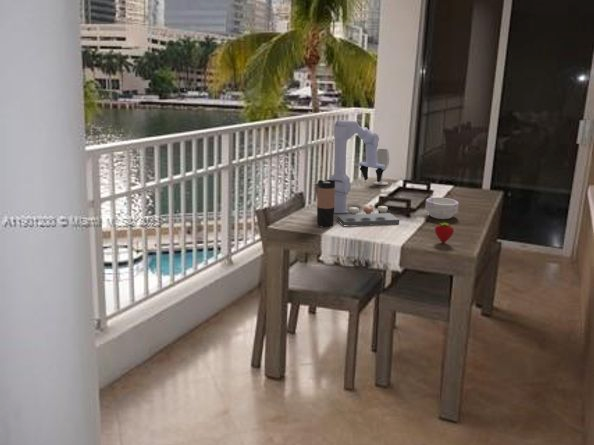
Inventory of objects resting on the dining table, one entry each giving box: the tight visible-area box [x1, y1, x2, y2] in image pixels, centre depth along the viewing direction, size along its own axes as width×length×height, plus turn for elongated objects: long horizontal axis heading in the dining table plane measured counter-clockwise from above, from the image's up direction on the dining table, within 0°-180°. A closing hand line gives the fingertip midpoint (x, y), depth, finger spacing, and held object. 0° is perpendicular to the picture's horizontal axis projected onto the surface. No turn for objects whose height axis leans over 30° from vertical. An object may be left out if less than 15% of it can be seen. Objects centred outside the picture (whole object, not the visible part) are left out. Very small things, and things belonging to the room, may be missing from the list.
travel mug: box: [316, 179, 335, 228], centre depth 258 cm, size 8×8×20 cm
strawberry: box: [434, 220, 454, 244], centre depth 237 cm, size 6×8×10 cm
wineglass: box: [373, 148, 390, 186], centre depth 347 cm, size 9×9×21 cm
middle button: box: [362, 205, 374, 214], centre depth 266 cm, size 4×4×3 cm
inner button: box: [348, 206, 359, 215], centre depth 265 cm, size 4×4×3 cm
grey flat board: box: [336, 212, 400, 226], centre depth 267 cm, size 26×12×2 cm, turn 103°
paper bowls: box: [424, 196, 460, 220], centre depth 278 cm, size 15×15×8 cm
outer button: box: [377, 205, 388, 213], centre depth 268 cm, size 4×4×3 cm
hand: (372, 180), depth 306 cm, fingers open, 7 cm apart
